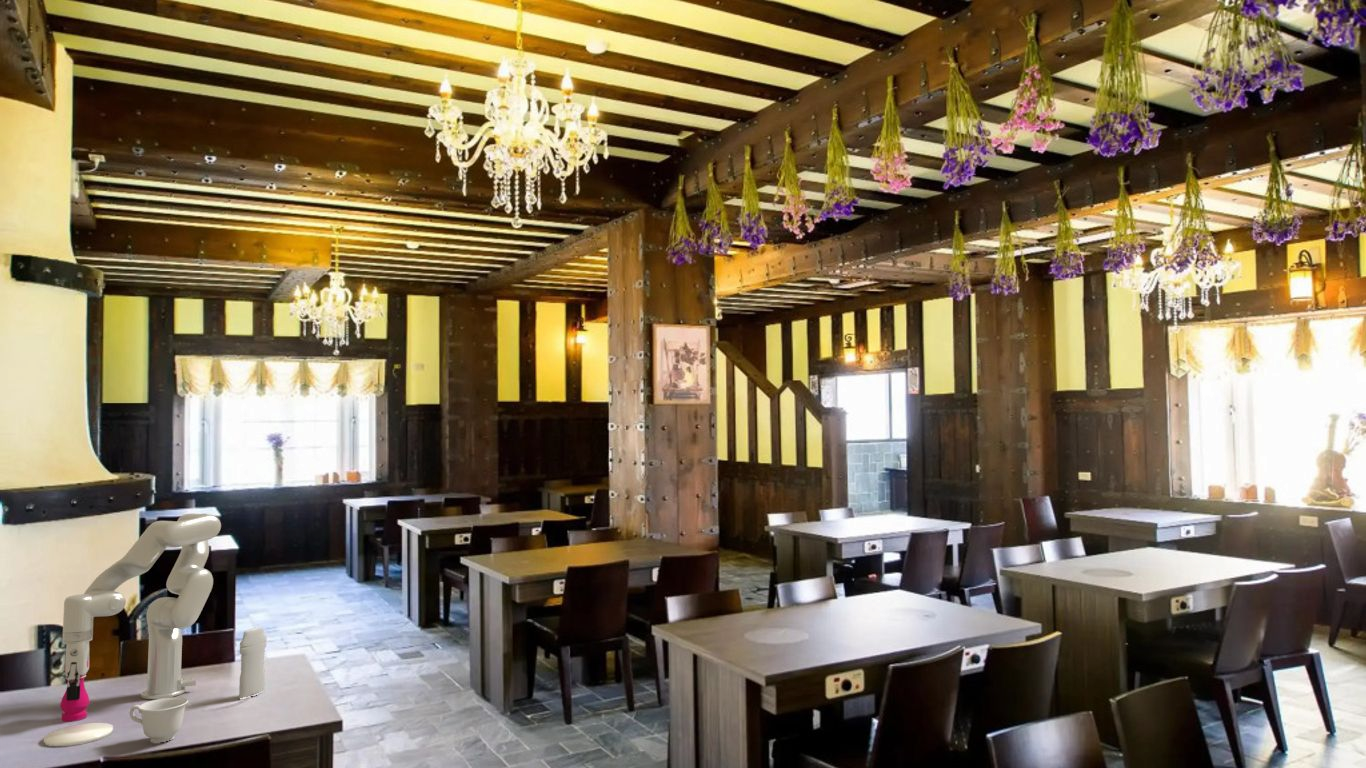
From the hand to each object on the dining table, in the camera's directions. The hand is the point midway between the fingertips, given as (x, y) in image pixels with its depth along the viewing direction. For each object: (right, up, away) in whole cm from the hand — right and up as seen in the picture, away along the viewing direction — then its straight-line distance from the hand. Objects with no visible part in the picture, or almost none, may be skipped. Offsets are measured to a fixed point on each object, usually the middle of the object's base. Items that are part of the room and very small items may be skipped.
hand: (74, 696), depth 256 cm
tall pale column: (+43, -8, +22) cm, 49 cm away
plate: (+13, -5, -16) cm, 21 cm away
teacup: (+37, -5, -19) cm, 42 cm away
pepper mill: (0, -7, 0) cm, 7 cm away
